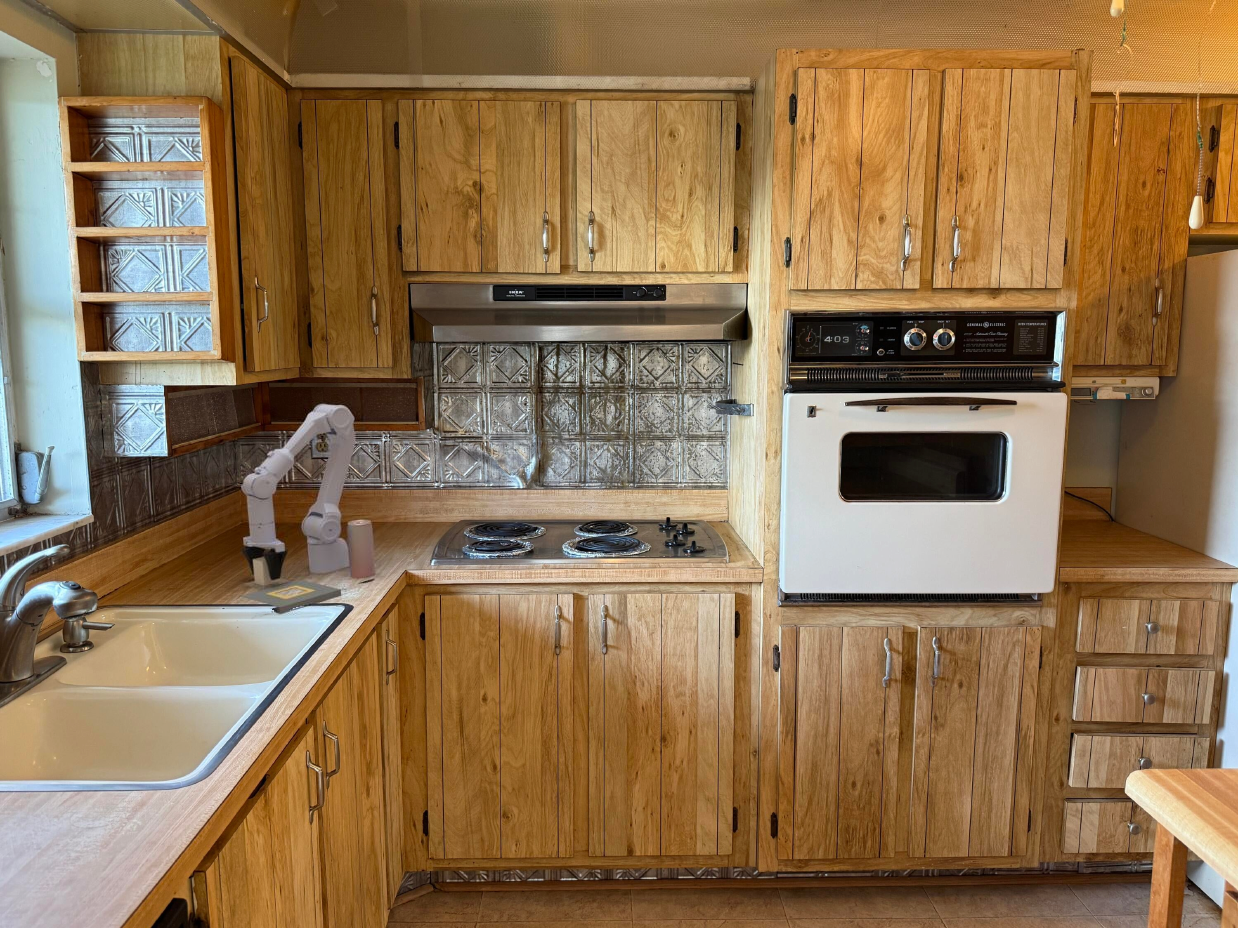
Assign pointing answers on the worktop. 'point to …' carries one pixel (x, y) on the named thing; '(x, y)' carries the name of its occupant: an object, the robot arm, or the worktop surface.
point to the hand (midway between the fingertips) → (266, 576)
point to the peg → (262, 572)
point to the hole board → (286, 604)
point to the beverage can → (361, 549)
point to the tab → (266, 585)
